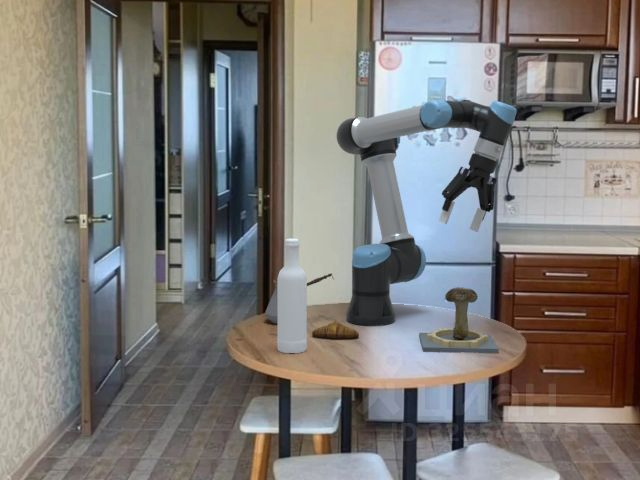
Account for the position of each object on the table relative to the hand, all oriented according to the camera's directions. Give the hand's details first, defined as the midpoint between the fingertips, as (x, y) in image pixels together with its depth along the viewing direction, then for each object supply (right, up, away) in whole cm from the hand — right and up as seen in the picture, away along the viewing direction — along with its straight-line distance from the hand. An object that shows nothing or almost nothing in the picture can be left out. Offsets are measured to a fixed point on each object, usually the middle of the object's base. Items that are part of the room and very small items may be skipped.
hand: (458, 226), depth 225 cm
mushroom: (-1, -32, -9) cm, 33 cm away
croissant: (-35, -32, -1) cm, 48 cm away
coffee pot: (-46, -29, +19) cm, 58 cm away
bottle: (-47, -34, -14) cm, 60 cm away
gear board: (-2, -33, -8) cm, 34 cm away
